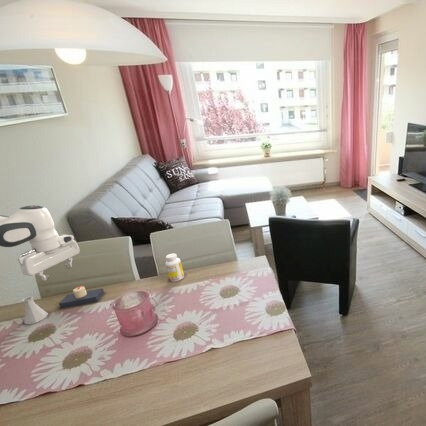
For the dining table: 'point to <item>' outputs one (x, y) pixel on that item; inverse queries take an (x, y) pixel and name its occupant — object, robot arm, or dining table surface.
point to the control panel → (82, 298)
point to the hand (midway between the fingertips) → (57, 273)
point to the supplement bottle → (174, 267)
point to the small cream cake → (79, 292)
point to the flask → (32, 311)
